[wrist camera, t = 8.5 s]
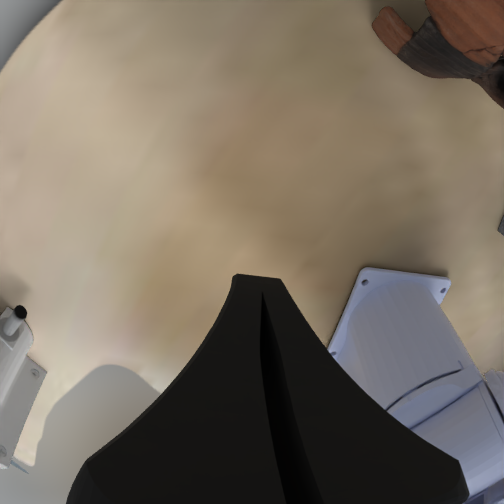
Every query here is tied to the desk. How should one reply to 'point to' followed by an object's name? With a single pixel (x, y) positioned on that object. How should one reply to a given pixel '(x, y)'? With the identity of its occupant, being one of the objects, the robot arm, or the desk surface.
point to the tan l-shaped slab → (501, 227)
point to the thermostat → (15, 380)
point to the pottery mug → (452, 42)
